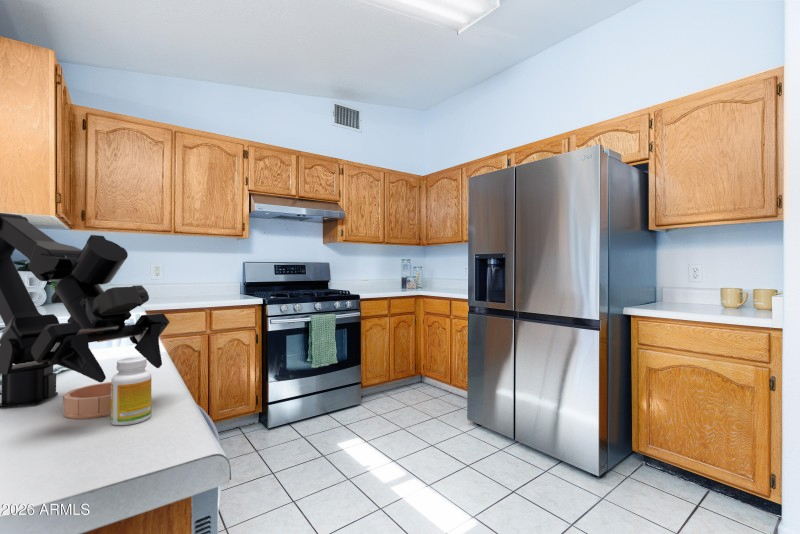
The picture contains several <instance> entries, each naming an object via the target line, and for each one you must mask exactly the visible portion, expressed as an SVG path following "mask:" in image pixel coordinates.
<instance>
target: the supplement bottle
mask: <svg viewBox="0 0 800 534" xmlns="http://www.w3.org/2000/svg"><path fill="white" fill-rule="evenodd" d="M147 362H148V360H147V359H146V358H144V357H143V356H142V357H140V356H139V357H138V356H137V357H128V358H127V357H126V358H123V359H119V360H117V361H116V371H118V373H116V374H115V375H113V376H112V377H111V381H110V382H111V415H110V423H111V424H112V425H113V426H129V425H136V424H139V423H142V422H144V421H147V420H149V419H150V418H151V416H152V373H151V371H150V370H146V368H147V364H148V363H147Z"/></svg>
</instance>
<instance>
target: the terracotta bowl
mask: <svg viewBox="0 0 800 534" xmlns="http://www.w3.org/2000/svg"><path fill="white" fill-rule="evenodd" d="M62 411H63V417H65V418H66V419H71V420H85V419H86V420H87V419H88V420H89V419H95V418H102V417H103V418H104V417H107V416H111V381H108V382H107V381H106V382H101V383H100V382H99V383H95V384H89V385H86V386H81V387H77V388H74V389H71V390H69V391H67V392H66V393H63V394H62Z"/></svg>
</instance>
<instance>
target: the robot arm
mask: <svg viewBox="0 0 800 534" xmlns="http://www.w3.org/2000/svg"><path fill="white" fill-rule="evenodd" d="M15 250H17V251H18V252H19V253H21V254H22V255H23V256H24V257H26V258H27V259H28V260H29V262H28V265H27V269H29V271H30V272H31V273H32V274H33V276H34V277H35V278H36V279H37V280H38V281H40V282H58V283H57V284H56V286H55V288H54V292H53V294H52V296H51V297H50V298H51V299H50V302H51V304H63V306H64V308H65V310H66V311H67V312H68V313H69V317H68V319H67V322H64V323H63V322H62V323H60V321H59V318H58V317H57V315H55V314H54V313H53V314H52V313H51V314H41V313H40V312H39V309H38V308H37V307H36V304H35V303H34V300H33V297H32V296H31V294H30V292H29V290H28V288H27V286H26V285H25V282H24V280H23V279H22V276H21V274H20V272H19V270H18V268H17V267H16V264H15V263H14V261H13V259H12V256H13V254H14V252H15ZM128 256H129V255H128V252H127V249H125V248H124V247H122V246H120V244H118V243H116V242H114V241H112V240H109V239H106V237H105V236H104V235H98V234H97V235H96V234H90V236H89V237H88V238H87V240H86V243H85V244H84V247H83V248H82V249H81V248H79V247H76V246H73V245H68V244H63V243H60V242H57V241H56V240H54V239H53V238H52V237H50V236H49V235H47V234H46V233H45V232H43V230H40V229H39V228H38V227H36V226H35V225H34V224H32V223H30V222H29V219H28V218H27V217H25V216H23V215H21V214H12V213H7V212H6V213H5V212H0V317H1V319H2V321H3V322H2V323H3V324H4V329H3V332H2V334H1V336H0V375H1V402H0V409H3V408H12V407H13V408H16V407H28V406H29V407H30V406H37V405H40V404H43V403H45V402H47V401H48V400H50V399H53V398H54V397H56V396H58V395H59V392H58V391H57V373H56V372H54V366H60V367H63V368H64V369H65V368H66V369H69V370H71V371H74V372H77V373H78V374H82V376H84V377H85V376H86V377H87V378H89V379H92V380H94V381H95V382H98V383H99V384H100V383H104V382H105V380H106V379H107V377H106V374H105V372H104V370H103V368H102V366H101V365H100V363H99V361H98V360H97V359H96V357H95V355H94V353H93V352H92V351H91V349H90V344H89V343H96V342H97V343H101V342H108V341H115V340H121V339H125V338H126V339H127V338H129V340H130V342H131V343H132V344H134V345H135V346H134V349H135V350H136V351H137V352H138V353H139V354H140V355H141V356H142V357H144V358H146V359H147V362H148V363H150V365H152V366H153V367H155V368H156V369H160V368H161V367H162V365H163V362H162V355H161V347H160V336H161V334H162V333H163V332H164V331H165V329H166V328H167V327H168V325H169V324H170V320H169V319H168V318H167V316H166V315H165V313H162V312H161V313H159V312H158V313H157V312H156V313H149V314H141V315H140V317H139V318H138V319H137V321H136V322H135V323H134V324H126V321H129V320H130V318H131V316H132V313H131V311H132V310H134V309H136V308H138V307H141V306H142V305H143V304H145V303H147V302H148V301H149V299H150V296H149V293H148V291H147V289H146V288H145V287H144V286H143V285H139V284H138V285H132V286H116V287H110V288H108V289H105V291H104V290H103V288H102V287H101V285H107V284H110V283H111V281H112V280H113V279H114V278H115V276H116V275H117V273H118V271H119V270H120V269H121V267H122V266H123V264H124V263H125V261H126V260H127V258H128Z"/></svg>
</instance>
